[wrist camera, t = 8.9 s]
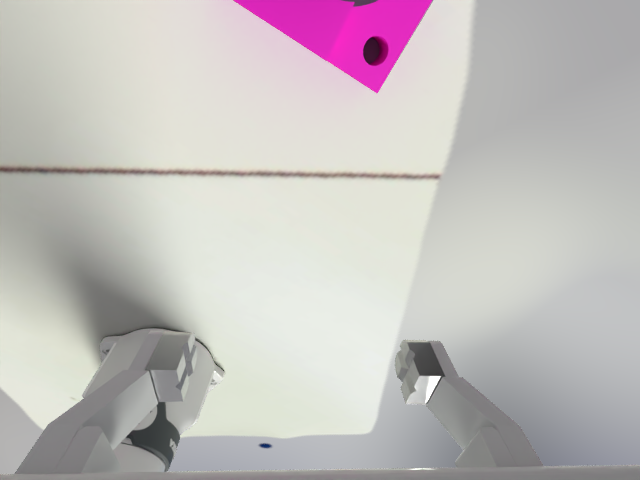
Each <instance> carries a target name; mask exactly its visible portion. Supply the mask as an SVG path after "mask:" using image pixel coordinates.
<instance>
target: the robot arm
mask: <svg viewBox="0 0 640 480" xmlns="http://www.w3.org/2000/svg"><path fill="white" fill-rule="evenodd" d="M400 347H401V351H399V352H398V353H397V355H396V358H395V369H396V374H397V377H398V378H399V379H400V380H401V381H402V382H403V383H402V386H401V390H402V393H403V397H404V400H405V403H406V404H417V405H427V407H428V409H429V410H430V411H431V412H432V413H433V414H434V416H435V417H436V418H437V419H438V421H439V422H440V423H441V424H442V425H443V426H444V428H445V429H446V430H447V431H448V432H449V434H450V435H451V436H452V437H453V438H454V440H455V441H456V442H457V443H458V444H459V446H460V447H461V448H462V449H463V450H464V451H463V452H462V453H461V455H460V456H459V457H458V459H457V460H456V462H455V465H456V467H457V468H399V469H398V468H395V469H394V468H392V469H328V470H327V469H322V470H257V471H256V470H252V471H189V472H188V471H186V472H185V471H183V472H167V471H168V469H169V467H170V464H171V462H172V460H173V459H174V456H175V453H176V450H177V449H176V448H177V446H178V443H179V440H180V435H181V434H182V433H183V432H184V431H185V430H187V429H189V428H190V427H191V426H192V425H193V424H196V422H197V420H198V418H199V415H200V412H201V409H202V407H203V404H204V401H205V398H206V395H207V393H208V392H210V391H211V390H212V389H213V388H214V387H215V386H217V385H218V384H219V383H220V382H221V381H222V380H223V378H224V375H225V373H224V371H223V370H222V369H221V368H219V367H218V366H217V365H216V364H215V363H214V361H213V359H212V357H211V355H210V353H209V352H208V350H207V349H206V348H205V347H204V346H203V345H202V344H200V343H199V342H197V341H196V340H195V335H194V333H188V332H175V331H171V330H166V329H155V328H150V329H141V330H136V331H133V332H131V333H128V334H126V335H123V336H109V337H105V338H103V340H102V342H101V343H100V353H101V362H102V363H101V365H100V367H99V368H98V370H97V371H96V373H95V375H94V376H93V378H92V380H91V381H90V383H89V384H88V386H87V388H86V389H85V391H84V393H83V395H82V397H83V398H84V399H83V400H81V401H80V402H78V403H77V404H76V405H74V406H73V407H72V408H70V409H69V410H68V411H66V412H65V413H63V414H62V415H61V416H59V417H58V418H57V419H55V420H54V421H52V422H51V423H50V424H48V425H47V427H46V428H45V430H44V431H43V433H42V434H41V436H40V437H39V439H38V440H37V442H36V443H35V445H34V446H33V447H32V449H31V450H30V452H29V453H28V455H27V456H26V458H25V459H24V461H23V462H22V463H21V465H20V466H19V468H18V469H17V471H16V472H15V474H0V480H640V465H599V466H543V464H542V462H541V461H540V459H539V457H538V456H537V454H536V452H535V451H534V449H533V448H532V446H531V444H530V442H529V440H528V439H527V437H526V435H525V434H524V432H523V430H522V429H521V427H520V426H519V425H518V424H517V423H516V422H514V421H513V420H512V419H511V418H510V417H508V416H507V415H506V414H505V413H504V412H503V411H501V410H500V409H499V408H498V407H497V406H495V405H494V404H493V403H492V402H491V401H490V400H489V399H487V398H486V397H485V396H484V395H483V394H481V393H480V392H479V391H478V390H477V389H475V388H474V387H473V386H472V385H471V384H470V383H469V382H467V381H466V380H465V379H464V378H463V377H459V376H458V374H457V372H456V370H455V368H454V366H453V364H452V362H451V360H450V358H449V356H448V354H447V352H446V350H445V348H444V346H443V344H442V343H441V342H440V341H426V340H403V341H402V343H401V345H400Z"/></svg>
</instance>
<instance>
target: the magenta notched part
mask: <svg viewBox="0 0 640 480" xmlns="http://www.w3.org/2000/svg"><path fill="white" fill-rule="evenodd" d="M233 1H235V2H236V3H238V4H240V5H241V6H243V7H244V8H246V9H247V10H249V11H250V12H252V13H253V14H255V15H256V16H258V17H260V18H261V19H263V20H264V21H266V22H267V23H269V24H270V25H272V26H273V27H275V28H277V29H278V30H280V31H281V32H283V33H284V34H286V35H287V36H289V37H290V38H292V39H293V40H295V41H297V42H298V43H300V44H301V45H303V46H304V47H306V48H307V49H309V50H310V51H312V52H314V53H315V54H317V55H318V56H320V57H321V58H323V59H324V60H326V61H328V62H330V63H331V64H333V65H334V66H336V67H337V68H339V69H341V70H342V71H344V72H345V73H347V74H348V75H350V76H351V77H353V78H354V79H356V80H357V81H359V82H361V83H362V84H364V85H365V86H367V87H368V88H370V89H371V90H373V91H374V92H376V93H378V91H379V90H380V88H381V86H382V85H383V83H384V81H385V80H386V78H387V76H388V74H389V73H390V71H391V69H392V68H393V66H394V64H395V63H396V61H397V59H398V58H399V56H400V54H401V53H402V51H403V49H404V47H405V46H406V44H407V42H408V41H409V39H410V37H411V36H412V34H413V32H414V31H415V29H416V27H417V25H418V24H419V22H420V20H421V19H422V17H423V15H424V14H425V12H426V10H427V9H428V7H429V5H430V4H431V2H432V0H378V1H376V2H374V3H371V4H367V5H363V6H357V7H353V5H354V3H355V2H348V1H341V0H233ZM369 38H374V39H375V40H376V41H377V42H378V44H379V55H378V57H377V59H376V60H375V61H374V62H372V63H369V64H368V63H367V62H366V61H365V59H364V57H363V48H364V45H365V43H366V41H367V40H368V39H369Z"/></svg>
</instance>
